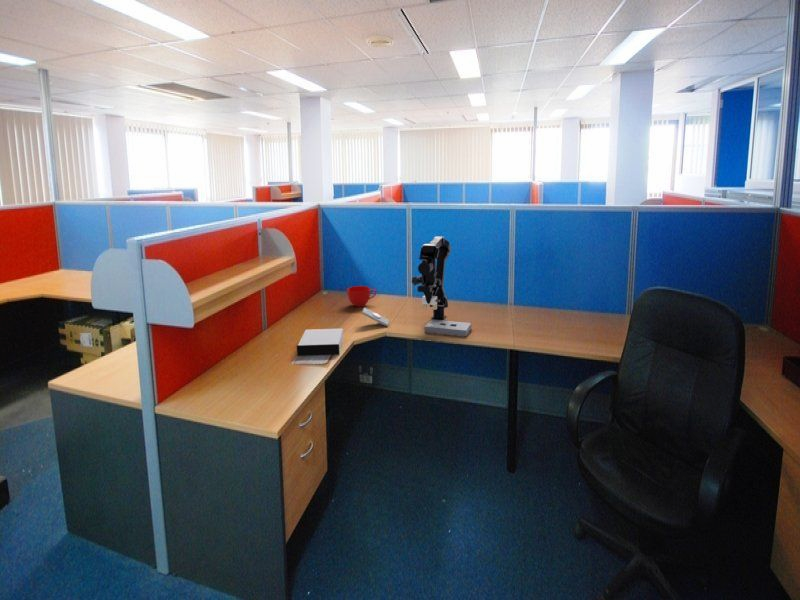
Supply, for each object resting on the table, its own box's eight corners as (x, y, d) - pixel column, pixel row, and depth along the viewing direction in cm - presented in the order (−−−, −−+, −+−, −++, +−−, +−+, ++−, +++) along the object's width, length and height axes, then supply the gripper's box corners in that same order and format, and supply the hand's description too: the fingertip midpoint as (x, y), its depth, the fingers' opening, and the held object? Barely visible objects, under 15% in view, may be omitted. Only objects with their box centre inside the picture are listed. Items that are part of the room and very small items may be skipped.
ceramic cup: (379, 306, 274) (379, 289, 271) (350, 309, 269) (349, 292, 267) (374, 301, 286) (373, 284, 283) (346, 303, 281) (345, 287, 279)
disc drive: (297, 357, 201) (296, 345, 200) (305, 339, 223) (305, 328, 222) (339, 355, 202) (338, 344, 200) (343, 338, 223) (343, 327, 222)
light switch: (389, 323, 237) (363, 310, 236) (383, 333, 238) (357, 320, 237) (390, 318, 245) (365, 305, 244) (385, 328, 246) (360, 315, 245)
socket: (431, 325, 239) (431, 318, 238) (471, 328, 232) (471, 322, 231) (424, 332, 228) (424, 325, 227) (465, 336, 221) (466, 329, 220)
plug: (424, 307, 234) (424, 295, 233) (440, 308, 231) (440, 296, 230) (421, 308, 231) (421, 296, 230) (438, 310, 228) (438, 298, 226)
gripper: (420, 266, 238) (420, 296, 242) (406, 273, 221) (407, 306, 225) (441, 267, 234) (441, 298, 238) (429, 274, 217) (429, 308, 221)
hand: (429, 302), depth 231 cm, fingers closed on plug, 4 cm apart
